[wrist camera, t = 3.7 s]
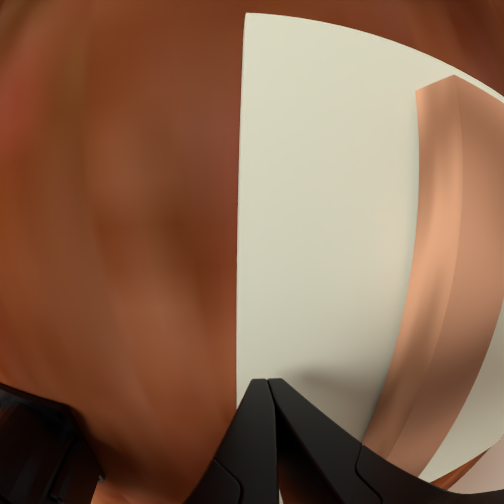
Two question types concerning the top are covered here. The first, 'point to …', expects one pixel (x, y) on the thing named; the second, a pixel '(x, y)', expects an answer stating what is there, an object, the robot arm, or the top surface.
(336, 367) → the base board
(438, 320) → the link
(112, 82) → the top surface
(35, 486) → the robot arm
